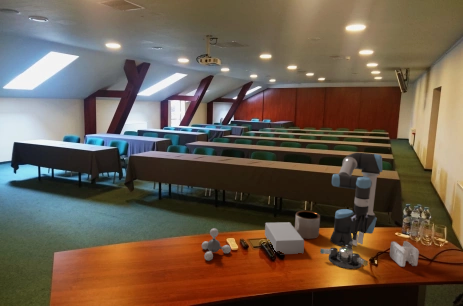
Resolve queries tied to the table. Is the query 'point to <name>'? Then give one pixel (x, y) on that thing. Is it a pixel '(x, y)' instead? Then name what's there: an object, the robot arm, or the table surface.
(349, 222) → the robot arm
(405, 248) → the cable organizer
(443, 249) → the table surface
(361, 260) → the screw
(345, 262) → the tribrach base
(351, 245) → the screw
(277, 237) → the box
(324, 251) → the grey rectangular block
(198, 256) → the table surface
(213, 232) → the molecule model
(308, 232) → the planter
